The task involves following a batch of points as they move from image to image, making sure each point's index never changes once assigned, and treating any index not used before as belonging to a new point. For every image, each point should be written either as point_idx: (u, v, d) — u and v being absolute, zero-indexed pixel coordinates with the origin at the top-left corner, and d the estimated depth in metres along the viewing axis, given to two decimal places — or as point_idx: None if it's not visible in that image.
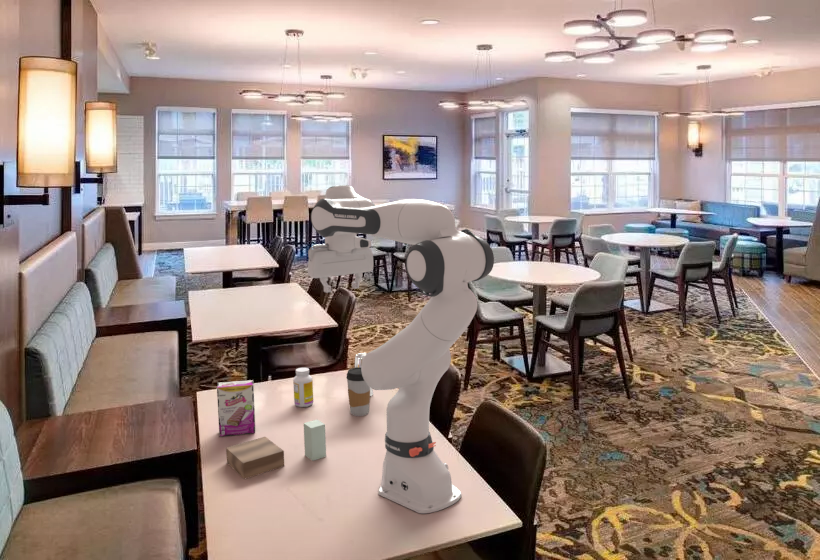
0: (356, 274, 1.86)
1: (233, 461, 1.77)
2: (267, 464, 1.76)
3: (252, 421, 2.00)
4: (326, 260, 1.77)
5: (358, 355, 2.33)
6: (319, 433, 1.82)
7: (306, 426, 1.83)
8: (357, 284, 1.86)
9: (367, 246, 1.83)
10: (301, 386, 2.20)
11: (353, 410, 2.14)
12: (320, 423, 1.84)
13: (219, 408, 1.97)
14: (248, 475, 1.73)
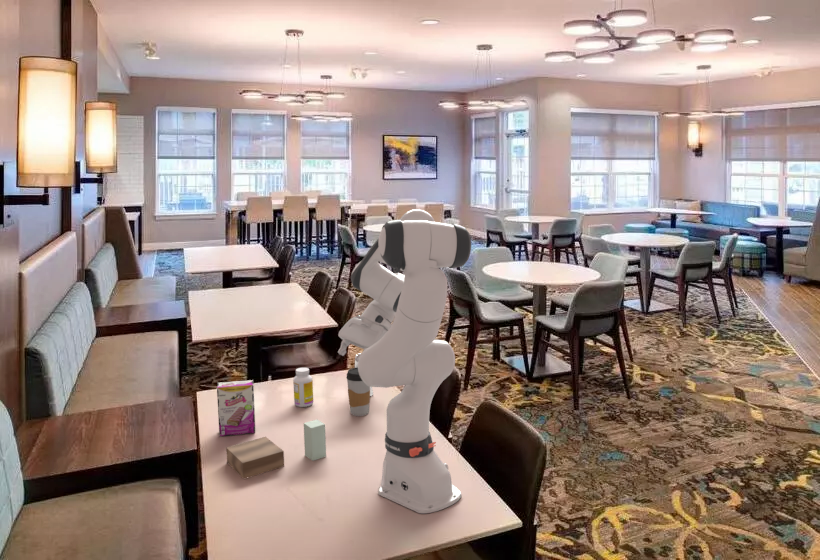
0: None
1: (233, 461, 1.77)
2: (267, 465, 1.76)
3: (252, 421, 2.00)
4: (353, 325, 1.94)
5: None
6: (319, 433, 1.82)
7: (306, 426, 1.83)
8: (358, 356, 1.84)
9: (379, 322, 1.84)
10: (301, 386, 2.20)
11: (353, 410, 2.14)
12: (320, 423, 1.84)
13: (219, 408, 1.97)
14: (247, 475, 1.73)
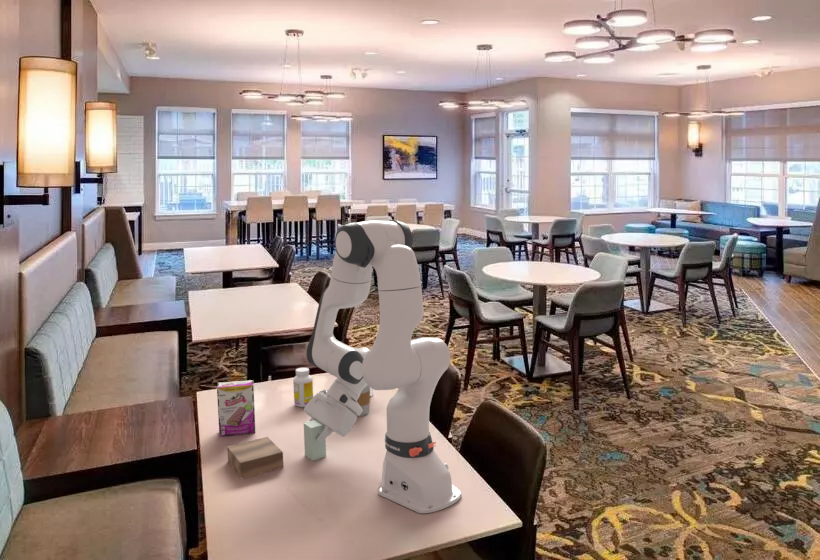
0: None
1: (233, 460, 1.77)
2: (266, 465, 1.76)
3: (252, 421, 2.00)
4: (318, 401, 1.90)
5: None
6: (319, 433, 1.82)
7: (306, 426, 1.83)
8: (318, 435, 1.81)
9: (344, 402, 1.80)
10: (301, 386, 2.20)
11: None
12: (320, 423, 1.84)
13: (219, 408, 1.97)
14: (245, 475, 1.73)
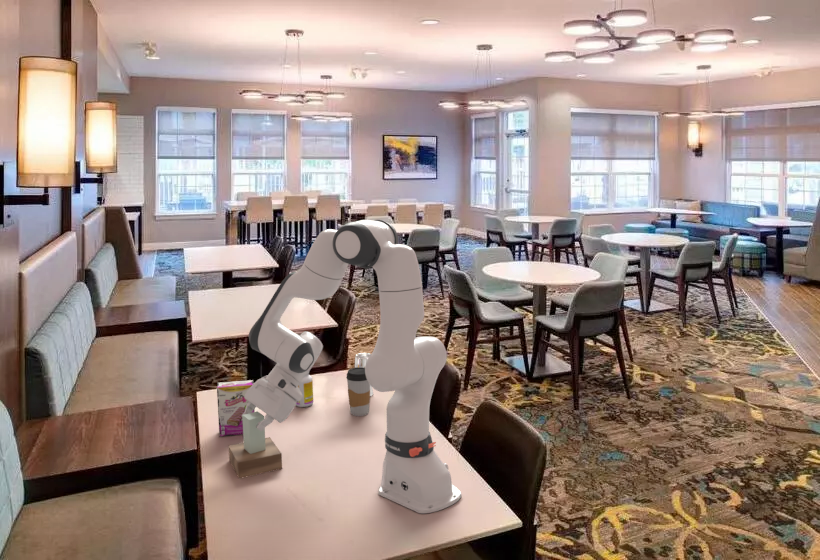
0: None
1: (233, 460, 1.78)
2: (264, 466, 1.75)
3: None
4: (259, 387, 1.84)
5: (358, 355, 2.33)
6: None
7: (244, 418, 1.77)
8: (259, 424, 1.74)
9: (282, 387, 1.74)
10: (301, 386, 2.20)
11: (353, 410, 2.14)
12: (259, 415, 1.78)
13: (219, 408, 1.97)
14: (243, 475, 1.73)
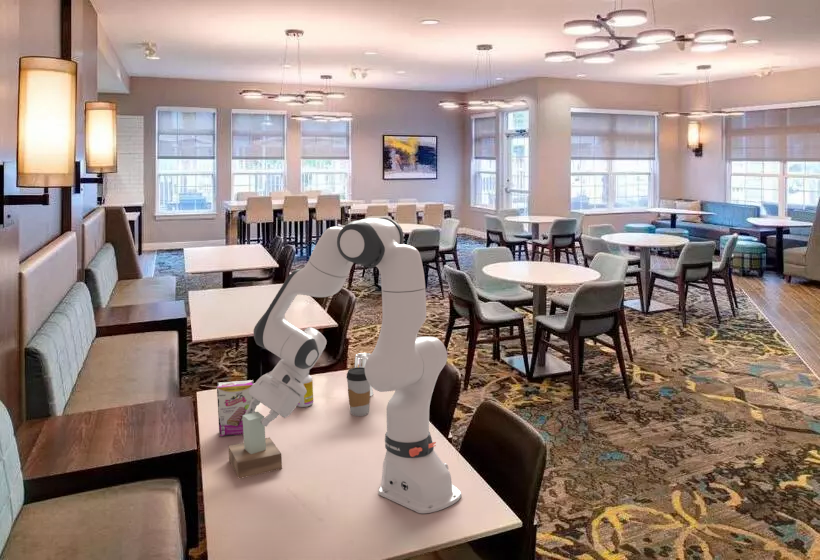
0: None
1: (232, 460, 1.78)
2: (264, 466, 1.75)
3: None
4: (263, 383, 1.85)
5: (358, 355, 2.33)
6: (258, 426, 1.77)
7: (244, 418, 1.77)
8: (263, 419, 1.74)
9: (286, 383, 1.75)
10: None
11: (353, 410, 2.14)
12: (259, 415, 1.78)
13: (219, 408, 1.97)
14: (243, 475, 1.73)
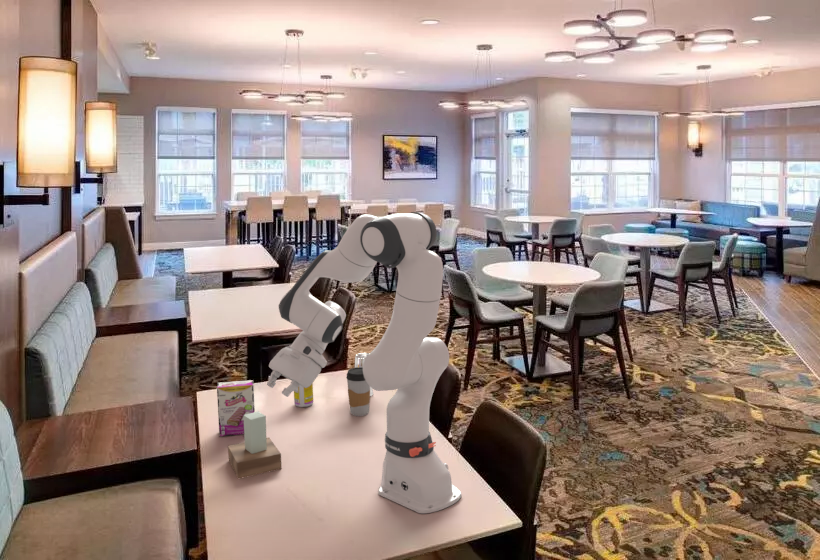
0: None
1: (232, 460, 1.78)
2: (263, 466, 1.75)
3: None
4: (283, 356, 1.87)
5: (358, 355, 2.33)
6: (259, 425, 1.77)
7: (246, 418, 1.77)
8: (285, 389, 1.77)
9: (307, 354, 1.78)
10: (301, 386, 2.20)
11: (353, 410, 2.14)
12: (260, 415, 1.78)
13: (219, 408, 1.97)
14: (242, 475, 1.73)
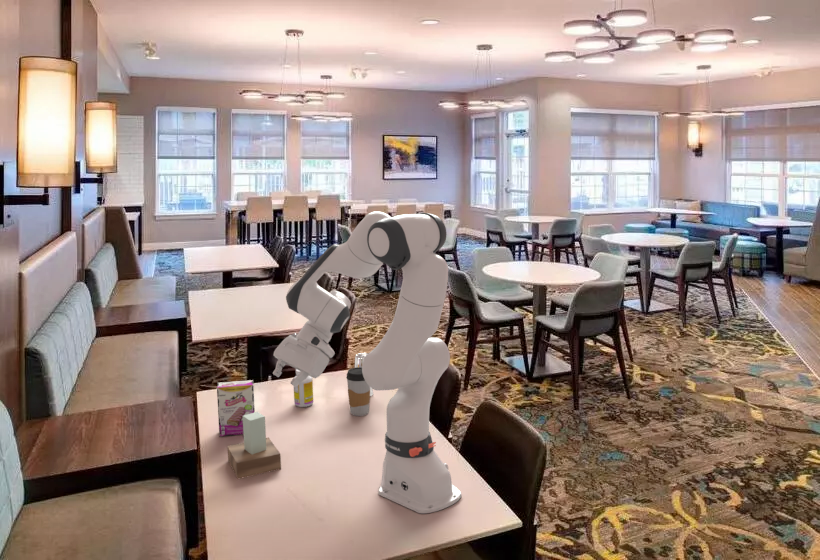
0: None
1: (231, 460, 1.77)
2: (263, 466, 1.75)
3: None
4: (288, 345, 1.88)
5: (358, 355, 2.33)
6: (258, 426, 1.76)
7: (245, 419, 1.77)
8: (293, 380, 1.78)
9: (316, 344, 1.79)
10: (301, 386, 2.20)
11: (353, 410, 2.14)
12: (260, 415, 1.78)
13: (219, 408, 1.97)
14: (242, 476, 1.73)
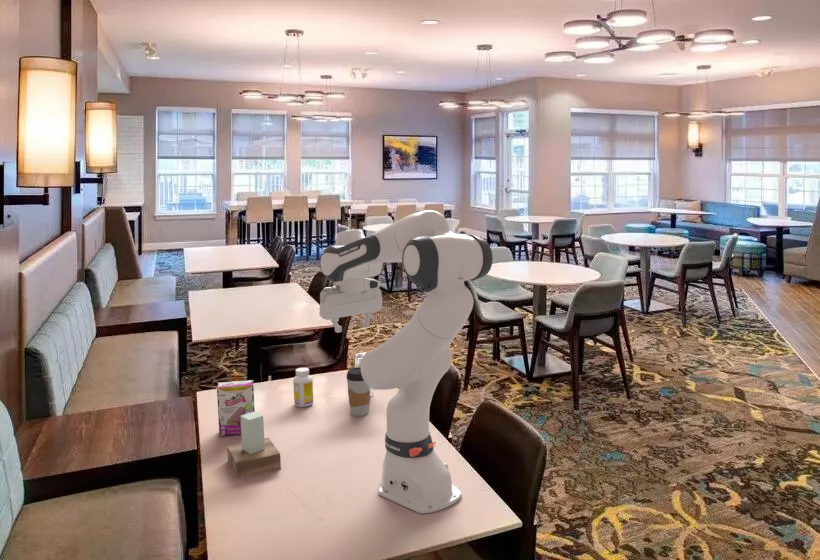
0: (365, 313, 1.92)
1: (231, 460, 1.77)
2: (263, 466, 1.75)
3: None
4: (337, 302, 1.83)
5: (358, 355, 2.33)
6: (257, 425, 1.77)
7: (243, 418, 1.77)
8: (367, 323, 1.92)
9: (376, 287, 1.89)
10: (301, 386, 2.20)
11: (353, 410, 2.14)
12: (258, 415, 1.78)
13: (219, 408, 1.97)
14: (241, 476, 1.73)
